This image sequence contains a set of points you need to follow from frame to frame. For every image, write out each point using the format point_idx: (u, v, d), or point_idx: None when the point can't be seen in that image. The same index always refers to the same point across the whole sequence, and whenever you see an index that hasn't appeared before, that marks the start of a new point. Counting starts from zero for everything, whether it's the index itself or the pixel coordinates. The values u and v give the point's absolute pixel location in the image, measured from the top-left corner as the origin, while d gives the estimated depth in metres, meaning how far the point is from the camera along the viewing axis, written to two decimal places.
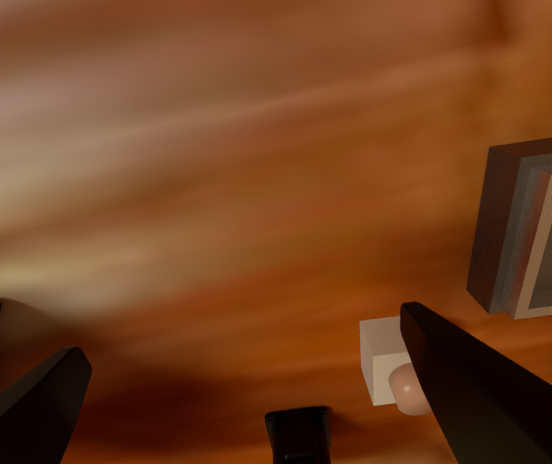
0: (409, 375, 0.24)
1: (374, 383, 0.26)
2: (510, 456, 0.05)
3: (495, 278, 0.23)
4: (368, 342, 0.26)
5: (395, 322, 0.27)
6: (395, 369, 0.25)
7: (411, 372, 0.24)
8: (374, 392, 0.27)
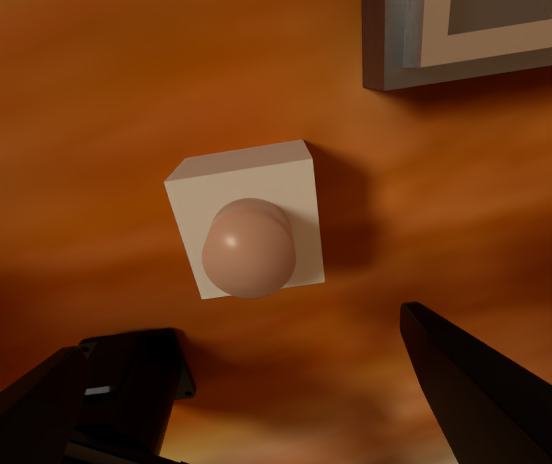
0: (226, 213, 0.12)
1: (187, 249, 0.14)
2: (510, 456, 0.05)
3: None
4: (174, 172, 0.14)
5: (240, 152, 0.15)
6: (217, 215, 0.14)
7: (233, 208, 0.12)
8: (194, 269, 0.15)
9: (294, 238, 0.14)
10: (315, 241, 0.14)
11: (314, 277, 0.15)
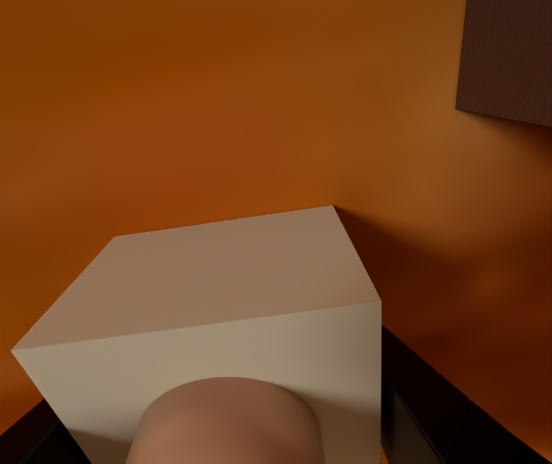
0: (160, 451, 0.05)
1: (93, 459, 0.07)
2: None
3: None
4: (65, 296, 0.06)
5: (213, 235, 0.08)
6: (151, 408, 0.06)
7: (178, 431, 0.05)
8: None
9: (324, 439, 0.07)
10: (368, 443, 0.07)
11: None
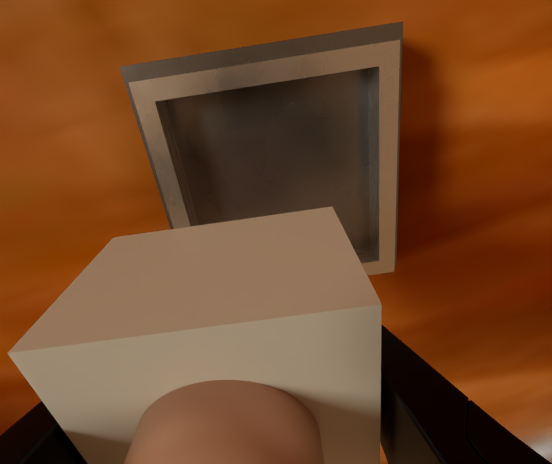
0: (157, 455, 0.05)
1: (91, 462, 0.07)
2: None
3: None
4: (63, 298, 0.06)
5: (212, 237, 0.08)
6: (149, 410, 0.06)
7: (177, 435, 0.05)
8: None
9: (323, 442, 0.06)
10: (367, 446, 0.07)
11: None
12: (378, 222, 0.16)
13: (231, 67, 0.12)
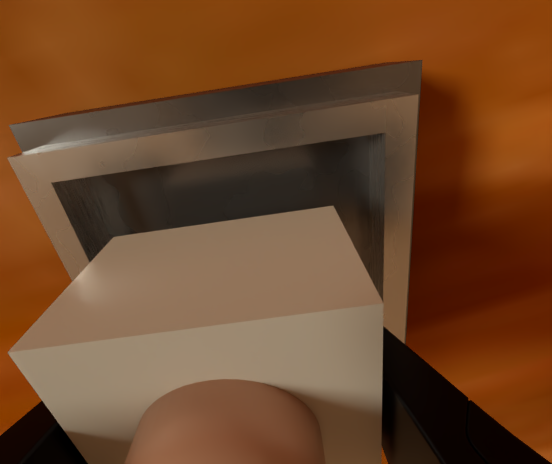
0: (158, 455, 0.05)
1: (91, 462, 0.07)
2: None
3: None
4: (63, 297, 0.06)
5: (213, 236, 0.08)
6: (150, 410, 0.06)
7: (177, 435, 0.05)
8: None
9: (325, 442, 0.06)
10: (369, 446, 0.07)
11: None
12: None
13: (160, 136, 0.08)
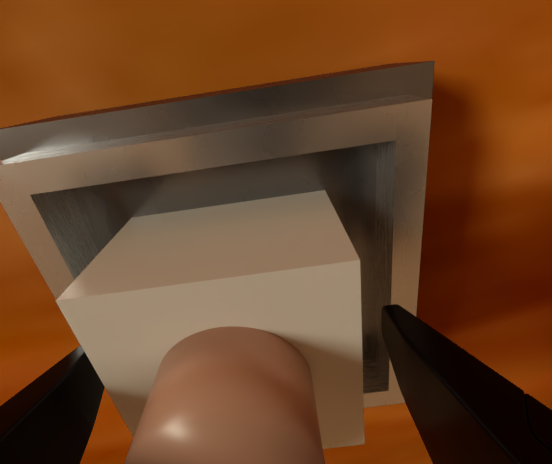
0: (179, 378, 0.06)
1: (117, 403, 0.08)
2: (477, 460, 0.05)
3: None
4: (94, 263, 0.08)
5: (219, 215, 0.09)
6: (168, 354, 0.07)
7: (194, 364, 0.06)
8: (133, 431, 0.08)
9: (315, 386, 0.08)
10: (353, 390, 0.08)
11: (346, 437, 0.09)
12: None
13: (148, 144, 0.07)
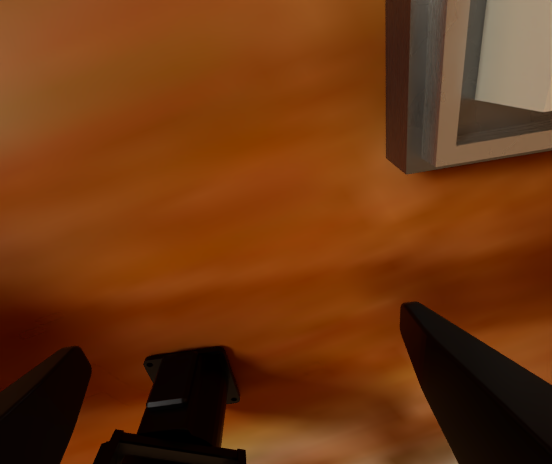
0: None
1: None
2: (510, 456, 0.05)
3: (407, 105, 0.14)
4: None
5: None
6: None
7: None
8: None
9: None
10: None
11: None
12: None
13: None
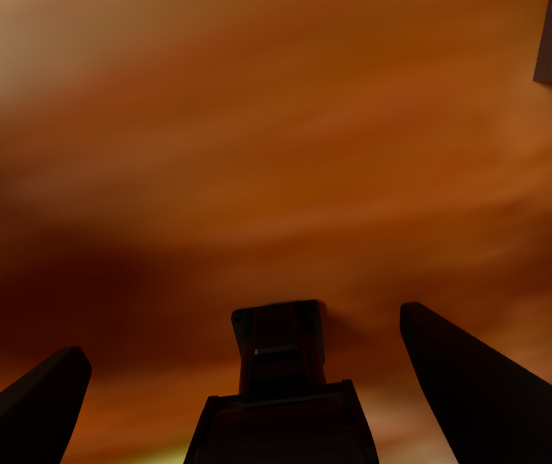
0: None
1: None
2: (510, 456, 0.05)
3: None
4: None
5: None
6: None
7: None
8: None
9: None
10: None
11: None
12: None
13: None
